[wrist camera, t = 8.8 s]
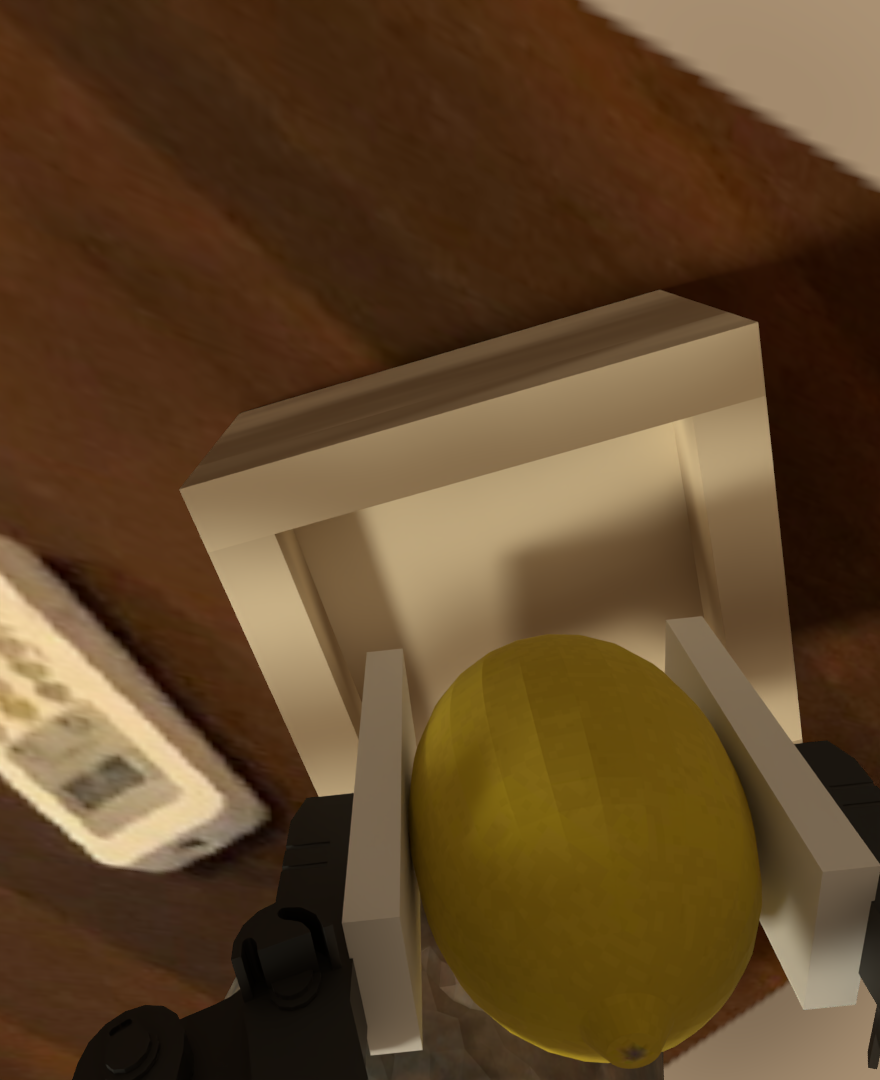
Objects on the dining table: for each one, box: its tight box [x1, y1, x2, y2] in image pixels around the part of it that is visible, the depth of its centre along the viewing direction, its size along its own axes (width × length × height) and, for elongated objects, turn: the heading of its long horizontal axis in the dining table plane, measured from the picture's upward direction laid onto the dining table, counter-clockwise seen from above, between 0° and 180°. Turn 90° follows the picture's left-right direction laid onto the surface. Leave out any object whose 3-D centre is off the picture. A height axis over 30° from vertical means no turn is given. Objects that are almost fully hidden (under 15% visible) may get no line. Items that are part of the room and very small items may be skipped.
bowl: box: [224, 896, 664, 1080], centre depth 25 cm, size 14×15×10 cm
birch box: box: [179, 290, 802, 797], centre depth 20 cm, size 12×12×6 cm
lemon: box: [408, 634, 762, 1069], centre depth 13 cm, size 6×6×8 cm
